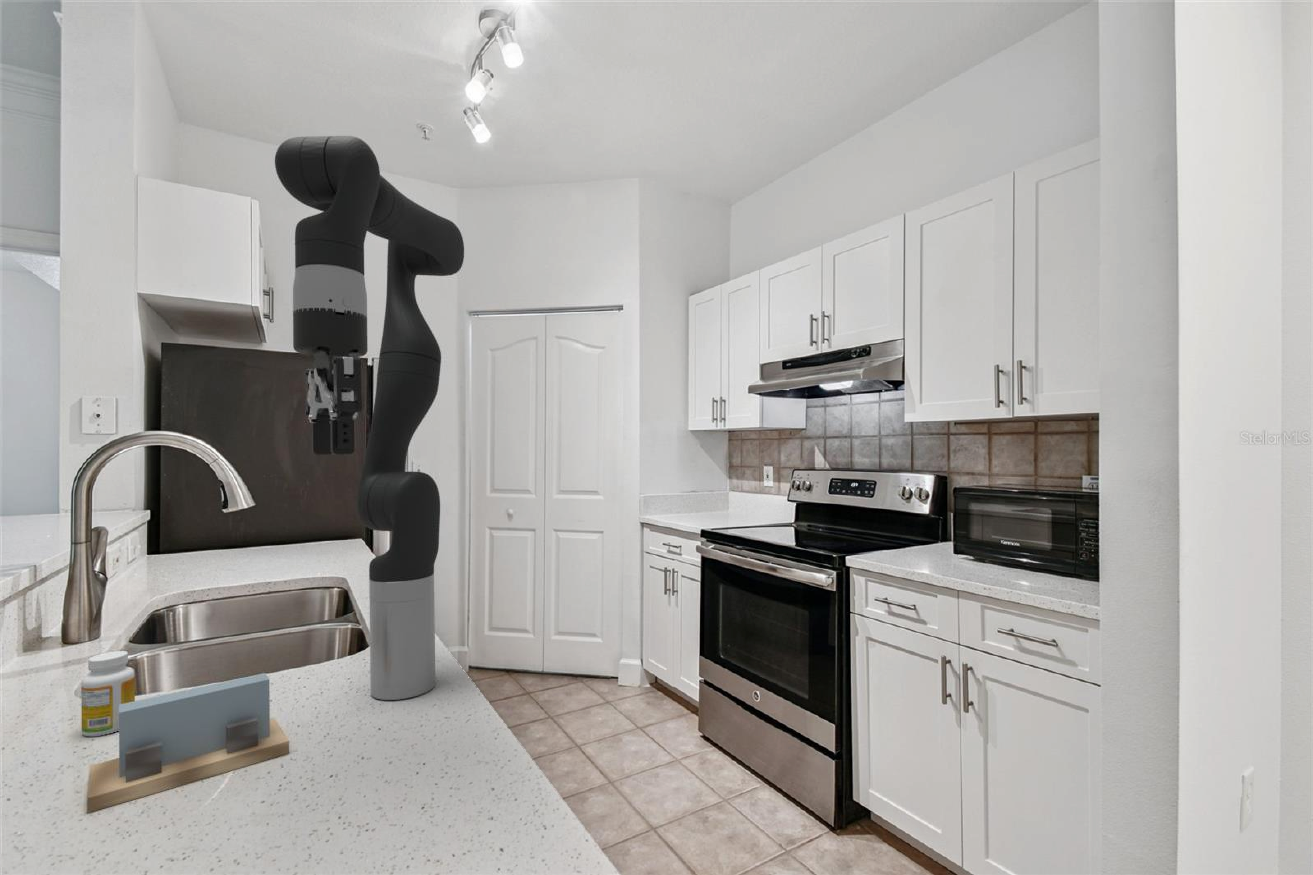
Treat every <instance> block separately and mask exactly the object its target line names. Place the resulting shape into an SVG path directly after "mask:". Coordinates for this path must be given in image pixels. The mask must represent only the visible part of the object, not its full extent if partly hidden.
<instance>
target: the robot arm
mask: <svg viewBox="0 0 1313 875" xmlns="http://www.w3.org/2000/svg"><path fill="white" fill-rule="evenodd" d="M276 150H277V151H276V152H275V156H274V165H275V166H274V167H275V171H276V175H277V177H278V179H279V181H280V183H281V185H282V186H283V187H284V189H285V190H286V191H287V192H288V193H289V195H290V196H292V198H294V199H295V200H297V201H298V202H300V203H301V204H303V205H305V206H308V207H310V208H312V209H314V210H318V211H321V212H319V213H317V214H313V215H310V216H307V217H305V218H302V219H301V220H299V221H298V222H297V224H296V225H295V229H294V230H295V233H294V262H295V264H294V268H295V269H294V279H293V286H292V335H293V336H292V343H293V345H292V346H293V350H294V351H295V352H296V353H298V354H300V355H304V356H311V357H313V359H314V361H313V368H306V370H305V371H304V375H305V411H304V415H305V418H306V419H308V420H309V423H311V452H312V454H314V455H316V456H317V455H320V456H322V455H352V454H353V453H354V452H355V420H356V419H357V417H358V414H359V413H362V410H363V401H362V400H363V398H362V397H363V396H362V395H363V394H362V393H363V392H362V361H361V358H360V357H364V356H365V355H367V353H368V295H367V287H366V281H365V280H366V279H365V240H366V237H367V232H368V233H370V234H372V235H373V236H375V237H379V238H382V239H385V240H388V242H387V256H386V258H387V260H386V261H387V262H386V264H387V265H386V267H387V268H386V299H385V312H384V320H383V321H384V322H383V330H382V337H381V344H380V349H379V350H380V351H379V356H378V366H377V375H376V384H375V385H376V387H375V398H374V405H373V409H372V410H373V411H372V418H371V425H370V432H369V437H368V442H367V446H366V453H365V457H364V460H363V461H364V462H363V465H362V469H361V474H360V477H359V481H358V482H359V483H358V486H357V494H356V510H357V514H358V517H359V519H360V521H361V523H362V524H363V525H364V526H365V527H366V528H368V529H369V530H373V531H377V532H379V531H380V532H392V534H391V544H390V547H389V549H388V550H387V551H386V552H384V553H383V554H380V555H378V556H376V557H373V559H371V561H370V562H369V566H368V568H369V569H368V573H369V575H368V579H369V580H368V582H369V584H368V586H369V587H368V588H369V589H368V591H369V594H368V595H369V651H370V652H369V657H370V658H369V660H370V666H369V667H370V669H369V670H370V675H369V676H370V678H369V679H370V695H371V697H372V698H374V699H378V700H382V701H386V700H387V701H393V700H404V699H409V698H413V697H417V696H420V695H423V694H425V693H427V692H430V691H431V690H432V689H434V688H435V685H436V628H435V627H436V626H435V624H436V623H435V622H436V621H435V620H436V616H435V614H436V613H435V612H436V609H435V562H436V560H437V556H438V553H439V547H440V525H441V524H440V523H441V521H440V520H441V498H440V491H439V488H438V485H437V483H436V481H435V480H434V478H433V477H432V476H431V475H430V474H427V473H425V472H422V471H406V462H407V456H408V450H409V447H410V444H411V441H412V439H413V436H414V434H415V432H416V431H417V429H418V428H419V426H420V425H421V423H422V422H423V420H424V419H425V417H426V416H427V413H428V412H429V410H430V408H431V407H432V406H433V403H434V402H435V400H436V397H437V394H438V391H439V387H440V386H439V385H440V375H441V374H440V373H441V365H442V352H441V347H440V345H439V343H438V341H437V338H436V336H435V335H434V333H433V331H432V329H431V328H430V326H429V324H428V322H427V321H426V319H425V317H424V315H423V313H422V311H421V310H420V307H419V304H418V301H417V298H416V291H415V290H416V289H415V285H416V284H415V282H416V278H417V276H431V277H435V276H436V277H445V276H453V275H455V274H457V273H458V272H459V271H460V270H461V268H462V267H463V265H464V259H465V258H464V257H465V243H464V238H463V235H462V233H461V231H460V229H459V227H458V226H457V225H456V224H455V223H454V221H452V220H450V219H448V218H445V217H443V216H440V215H438V214H437V213H435V212H433V211H430V210H429V209H427V208H425V207H423V206H421V205H420V204H418V203H417V202H415V201H414V200H412V199H410V198H408V197H407V196H406V195H404V194H403V193H402V192H401V191H399V190H398V189H397V188H396V187H395V186H393V184H392V183H390V182H389V181H388V180H387V179H386V178H385V177H384V176H382V175H381V173H380V172H381V170H380V165H379V161H378V160H377V156H376V154H375V152H374V150H372V148H371V146H369V144H367V142H365V141H364V140H363V139H361V138H359V137H357V136H352V135H326V136H325V135H324V136H322V135H321V136H318V135H317V136H294V137H291V138H288V139H286V140H284V141H283V142H282V143H281V144H280V145H279V147H278V148H277V149H276Z"/></svg>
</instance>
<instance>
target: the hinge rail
mask: <svg viewBox="0 0 1313 875" xmlns="http://www.w3.org/2000/svg"><path fill="white" fill-rule="evenodd" d="M288 754H290V741H289V739H288V738H287V735H286V734H285V732H284V730H283V729H282V727H281V725H280V724H279V722H278V721H277V719H276V718H275V717H272V718H271V717H270V737H266V738H262V739H259V740H258V720H257V718H256V717H255V718H251V719H247V720H243V721H239V722H235V723H232V724H228V725H226V749H223V750H219V751H215V752H212V753H208V754H204V755H201V756H197V757H194V758H190V759H186V760H183V761H179V762H175V763H172V764H168V765H165V766H162V745H161V742H157V743H153V744H149V745H145V746H141V747H137V748H134V749H130V750H126V751H125V763H126V776H125V777H121V778H119V757H118V758H115V759H109V760H107V761H102V762H99V763H95V764H91V765H89V771H88V782H87V795H86V813H87V814H89V813H93V812H96V811H100V810H103V809H106V808H110V807H113V806H116V805H120V804H123V803H127V802H130V801H134V800H136V799H139V798H144V797H147V796H151V795H154V794H158V793H160V792H163V791H167V790H170V789H174V788H177V787H180V786H185V785H187V784H190V783H193V782H194V783H195V782H197V781H201V780H204V779H208V778H211V777H214V776H218V775H220V774H224V773H228V772H230V771H235V770H238V769H241V768H245V767H248V766H251V765H255V764H258V763H261V762H265V761H268V760H269V761H270V760H271V759H274V758H278V757H281V756H285V755H288Z"/></svg>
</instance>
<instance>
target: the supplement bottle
mask: <svg viewBox="0 0 1313 875" xmlns="http://www.w3.org/2000/svg"><path fill="white" fill-rule="evenodd" d="M87 662H88V663H87V668H88V671H89V673H87V674H86V675H85V676H84V677H83V678H82V680H81V683H80V685H81V686H80V687H81V688H80V691H81V701H80V702H81V703H80V704H81V733H82V735H83V736H84V737H101V735H102V736H106V735H105V734H107V735H110V733H111V734H114V733H113V732H115V733H117V731H118V732H119V705H120V704H124V703H129V702H133V701H136V691H135V690H136V686H135V685H136V681H135V680H136V678H135V677H136V676H135V675H136V674H135V669H134V668H132V667H129V666H127V664H128V662H129V653H128V651H125V650H118V651H117V650H116V651H110V652H104V653H101V654H97V655H94V656H91V657H90V658H88V661H87Z"/></svg>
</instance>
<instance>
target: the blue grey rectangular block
mask: <svg viewBox="0 0 1313 875" xmlns="http://www.w3.org/2000/svg"><path fill="white" fill-rule="evenodd" d="M270 707H271V705H270V678H269V676H268V675H267V674H266V673H265V672H264V673H263V672H262V673H258V674H254V675H250V676H246V677H241V678H235V679H231V680H226V681H223V682H222V681H221V682H216V683H213V684H212V683H211V684H209V685H208V684H207V685H204V686H199V687H195V688H190V689H185V690H180V691H176V692H171V693H167V694H162V695H158V696H154V697H148V698H144V699H139V700H135V701H133V702H129V703H124V704H120V705H119V731H118V739H119V740H118V741H119V742H118V749H119V750H118V758H119V778H121V777H125V776H126V763H125V751H126V750H130V749H134V748H137V747H141V746H145V745H149V744H153V743H157V742H161V745H162V766H165V765H168V764H172V763H175V762H179V761H183V760H186V759H190V758H194V757H197V756H201V755H204V754H208V753H212V752H215V751H219V750H223V749H226V725H228V724H232V723H235V722H239V721H243V720H247V719H251V718H255V717H256V718H257V720H258V740H259V739H262V738H266V737H270V719H271V717H270V716H271V715H270V714H271V713H270V712H271V710H270V709H271V708H270Z"/></svg>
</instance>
